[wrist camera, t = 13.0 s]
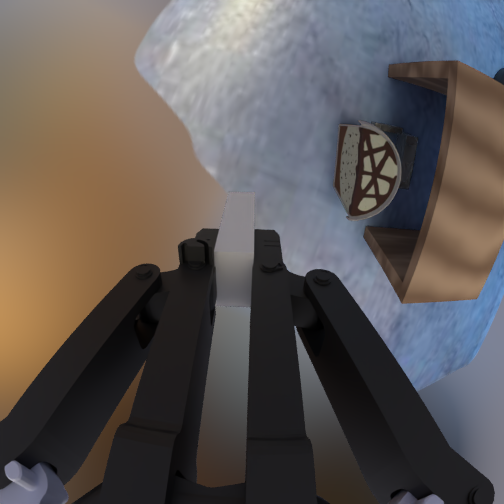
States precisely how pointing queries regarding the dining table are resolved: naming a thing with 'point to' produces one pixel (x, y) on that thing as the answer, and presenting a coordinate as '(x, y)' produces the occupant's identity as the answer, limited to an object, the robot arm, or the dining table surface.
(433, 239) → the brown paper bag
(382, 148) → the food container
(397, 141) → the gray stone bench
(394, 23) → the dining table surface
